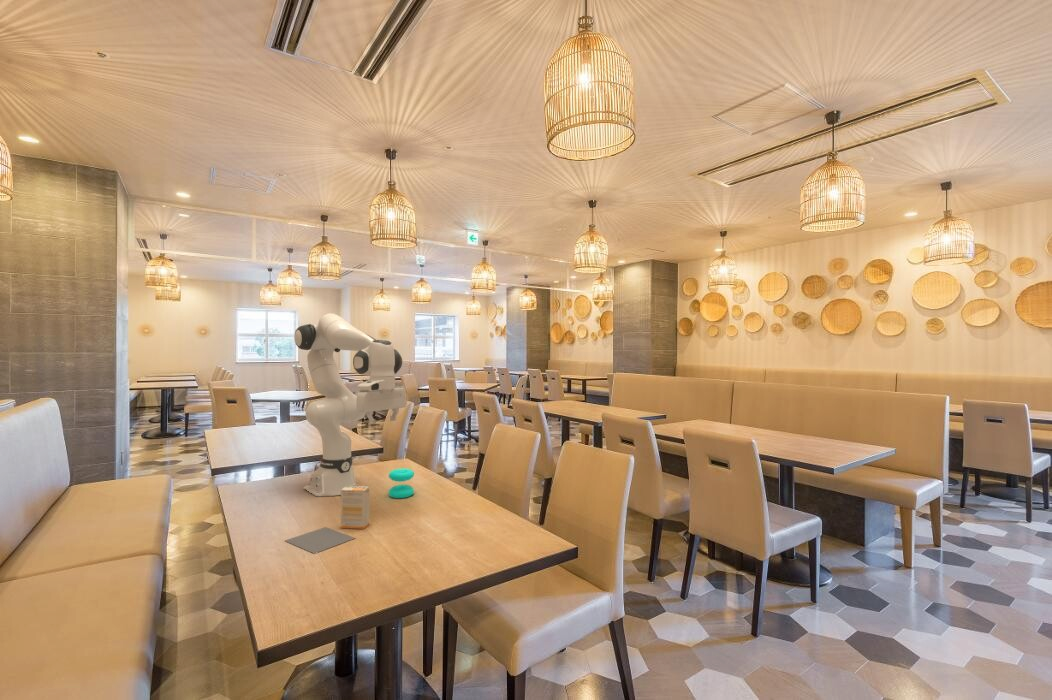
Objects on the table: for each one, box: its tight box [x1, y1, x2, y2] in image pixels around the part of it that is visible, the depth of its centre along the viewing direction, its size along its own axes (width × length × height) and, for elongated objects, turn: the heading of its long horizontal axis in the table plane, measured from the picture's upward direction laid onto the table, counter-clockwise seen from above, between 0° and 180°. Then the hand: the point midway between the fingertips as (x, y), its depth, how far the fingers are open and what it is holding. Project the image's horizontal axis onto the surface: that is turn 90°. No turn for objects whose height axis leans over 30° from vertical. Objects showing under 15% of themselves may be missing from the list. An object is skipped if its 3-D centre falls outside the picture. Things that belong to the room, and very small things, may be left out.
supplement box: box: [340, 485, 371, 530], centre depth 163 cm, size 8×5×13 cm, turn 84°
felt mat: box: [284, 526, 356, 554], centre depth 152 cm, size 16×14×1 cm
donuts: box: [388, 468, 415, 499], centre depth 198 cm, size 10×10×10 cm
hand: (382, 422), depth 176 cm, fingers open, 8 cm apart
